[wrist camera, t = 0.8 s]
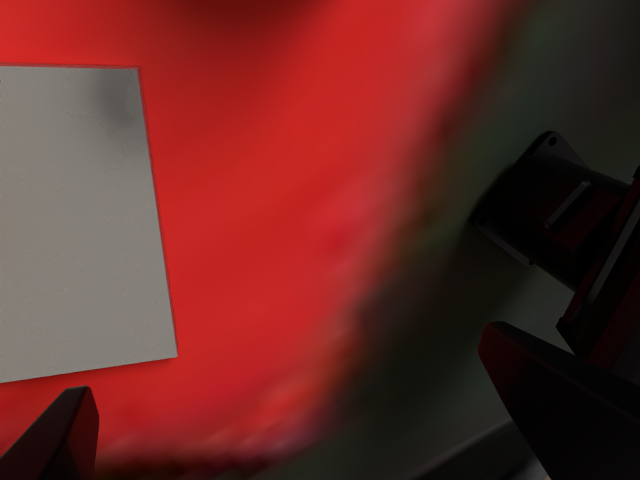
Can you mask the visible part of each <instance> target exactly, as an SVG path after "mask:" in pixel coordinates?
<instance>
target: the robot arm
mask: <svg viewBox="0 0 640 480" xmlns="http://www.w3.org/2000/svg"><path fill="white" fill-rule="evenodd" d="M550 139H551V141H550V142H549V140H550ZM633 178H635V179H634V181H633V182H632V184H631V185H629V184H627V183H624V182H622V181H619V180H616V179H614V178H611V177H609V176H606V175H604V174H601V173H598V172H596V171H593V170H591V169H589V168H588V167H587V166H586V164H585V163H584V162H583V161H582V160H581V159H580V157H579V156H578V155H577V154H576V153H575V152H574V150H573V149H572V148H571V147H570V146H569V145H568V143H567V142H566V141H565V140H564V139H563V138H562V136H561V135H560V134H559V133H557V132H554V131H547V132H545V133H544V134H543V135H542V136H541V137H540V138H539V139H538V141H537V142H536V143H535V144H534V145H533V146H532V147H531V149H530V150H529V151H528V152H527V153H526V154H525V156H524V157H523V158H522V159H521V160H520V161H519V162H518V164H517V165H516V166H515V167H514V168H513V169H512V171H511V172H510V173H509V174H508V175H507V176H506V178H505V179H504V180H503V181H502V182H501V183H500V184H499V186H498V187H497V188H496V189H495V190H494V191H493V193H492V194H491V195H490V196H489V197H488V198H487V199H486V201H485V202H484V203H483V204H482V205H481V206H480V208H479V209H478V210H477V211H476V212H475V213H474V214H473V216H472V218H471V224H472V225H473V226H474V227H475V228H477V229H478V230H479V231H481V232H482V233H483V234H484V235H486V236H487V237H488V238H489V239H491V240H492V241H493V242H494V243H496V244H497V245H498V246H500V247H501V248H502V249H503V250H505V251H506V252H507V253H508V254H510V255H511V256H512V257H514V258H515V259H516V260H517V261H519V262H520V263H521V264H522V265H524V266H525V267H526V268H533V267H534V266H536V265H537V266H539V267H540V268H542V269H543V270H544V271H546V272H547V273H549V274H550V275H551V276H553V277H554V278H555V279H557V280H558V281H560V282H561V283H562V284H564V285H565V286H567V287H568V288H569V289H571V290H572V291H573V292H575V294H574V296H573V298H572V300H571V302H570V304H569V306H568V308H567V310H566V312H565V314H564V315H563V317H560V319H559V321H558V323H557V325H556V328H557V330H558V331H559V333H560V334H561V336H562V337H563V338H564V340H565V341H566V343H567V344H568V345H569V347H570V348H571V350H572V351H573V352H574V354H575V355H576V356H575V355H573V354H571V353H569V352H567V351H565V350H563V349H561V348H558V347H556V346H554V345H552V344H550V343H548V342H546V341H544V340H542V339H539V338H537V337H535V336H533V335H531V334H529V333H527V332H525V331H523V330H520V329H518V328H516V327H514V326H512V325H510V324H508V323H506V322H503V321H496V322H490V323H487V324H486V325H485V326H484V329H483V332H482V336H481V339H480V343H479V347H478V353H479V357H480V359H481V361H482V363H483V365H484V367H485V369H486V371H487V373H488V375H489V376H490V378H491V380H492V382H493V384H494V386H495V388H496V390H497V392H498V394H499V396H500V398H501V400H502V402H503V404H504V405H505V407H506V409H507V411H508V413H509V414H510V416H511V418H512V419H513V421H514V422H515V424H516V426H517V427H518V429H519V430H520V432H521V433H522V435H523V436H524V438H525V440H526V441H527V443H528V444H529V446H530V447H531V449H532V451H533V452H534V454H535V455H536V457H537V458H538V460H539V461H540V463H541V465H542V466H543V468H544V469H545V471H546V472H547V474H548V475H549V477H550V479H551V480H640V165H639V166H638V168H637V170H636V172H635V174H634V175H633ZM481 218H482V220H481V221H480V222H479V220H480V219H481ZM98 430H99V414H98V410H97V407H96V403H95V400H94V397H93V394H92V390H91V388H90V387H89V386H86V385H84V386H78V387H71V388H67V389H65V390H64V391H63V392H62V393H61V394H60V395H59V396H58V397H57V398H56V399H55V400H54V401H53V402H52V403H51V404H50V405H49V406H48V407H47V409H46V410H45V411H44V412H43V413H42V414H41V415H40V416H39V417H38V418H37V419H36V420H35V421H34V422H33V423H32V425H31V426H30V427H29V428H28V429H27V430H26V431H25V432H24V433H23V434H22V435H21V436H20V437H19V438H18V439H17V441H16V442H15V443H14V444H13V445H12V446H11V447H10V448H9V449H8V450H7V451H6V452H5V453H4V454H3V455H2V457H1V458H0V480H93V475H94V466H95V457H96V448H97V439H98Z"/></svg>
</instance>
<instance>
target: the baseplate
mask: <svg viewBox="0 0 640 480" xmlns="http://www.w3.org/2000/svg"><path fill="white" fill-rule="evenodd" d="M177 355H178V342H177V335H176V327H175V320H174V313H173V306H172V298H171V291H170V284H169V277H168V269H167V262H166V255H165V248H164V240H163V233H162V226H161V219H160V211H159V204H158V197H157V190H156V182H155V175H154V168H153V161H152V153H151V146H150V139H149V132H148V124H147V117H146V110H145V103H144V95H143V88H142V81H141V74H140V66H107V65H68V64H29V63H0V383H3V382H10V381H17V380H24V379H31V378H37V377H44V376H51V375H58V374H65V373H71V372H78V371H85V370H92V369H99V368H105V367H112V366H119V365H126V364H133V363H139V362H146V361H153V360H160V359H167V358H173V357H177Z"/></svg>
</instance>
